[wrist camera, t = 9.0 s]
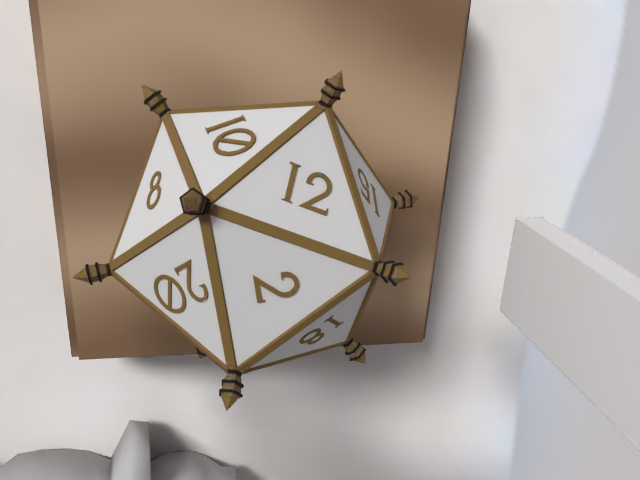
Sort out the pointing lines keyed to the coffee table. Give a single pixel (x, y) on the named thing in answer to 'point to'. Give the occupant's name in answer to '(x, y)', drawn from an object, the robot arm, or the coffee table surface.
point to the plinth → (234, 90)
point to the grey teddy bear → (115, 463)
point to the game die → (256, 232)
